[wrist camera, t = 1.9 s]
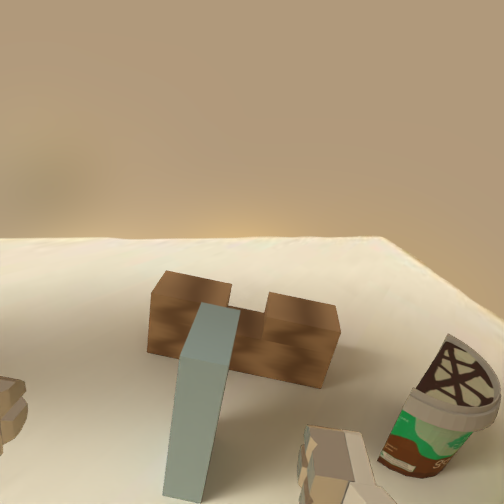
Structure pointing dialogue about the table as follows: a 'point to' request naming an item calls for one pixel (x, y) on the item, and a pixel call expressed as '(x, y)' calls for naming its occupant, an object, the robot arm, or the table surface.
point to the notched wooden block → (249, 329)
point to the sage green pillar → (199, 400)
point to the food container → (442, 411)
